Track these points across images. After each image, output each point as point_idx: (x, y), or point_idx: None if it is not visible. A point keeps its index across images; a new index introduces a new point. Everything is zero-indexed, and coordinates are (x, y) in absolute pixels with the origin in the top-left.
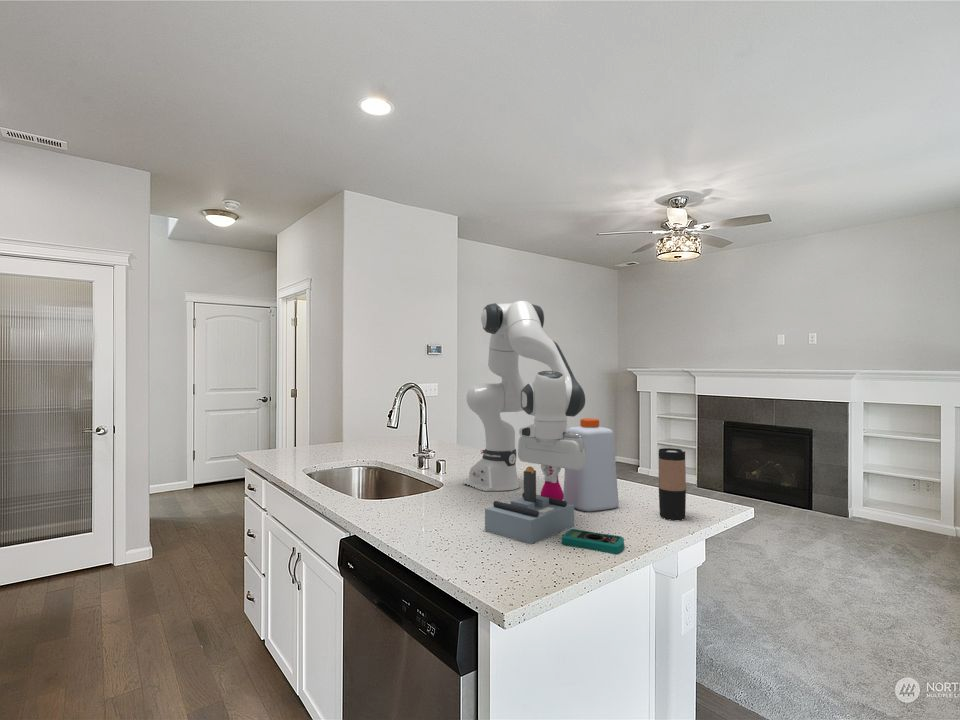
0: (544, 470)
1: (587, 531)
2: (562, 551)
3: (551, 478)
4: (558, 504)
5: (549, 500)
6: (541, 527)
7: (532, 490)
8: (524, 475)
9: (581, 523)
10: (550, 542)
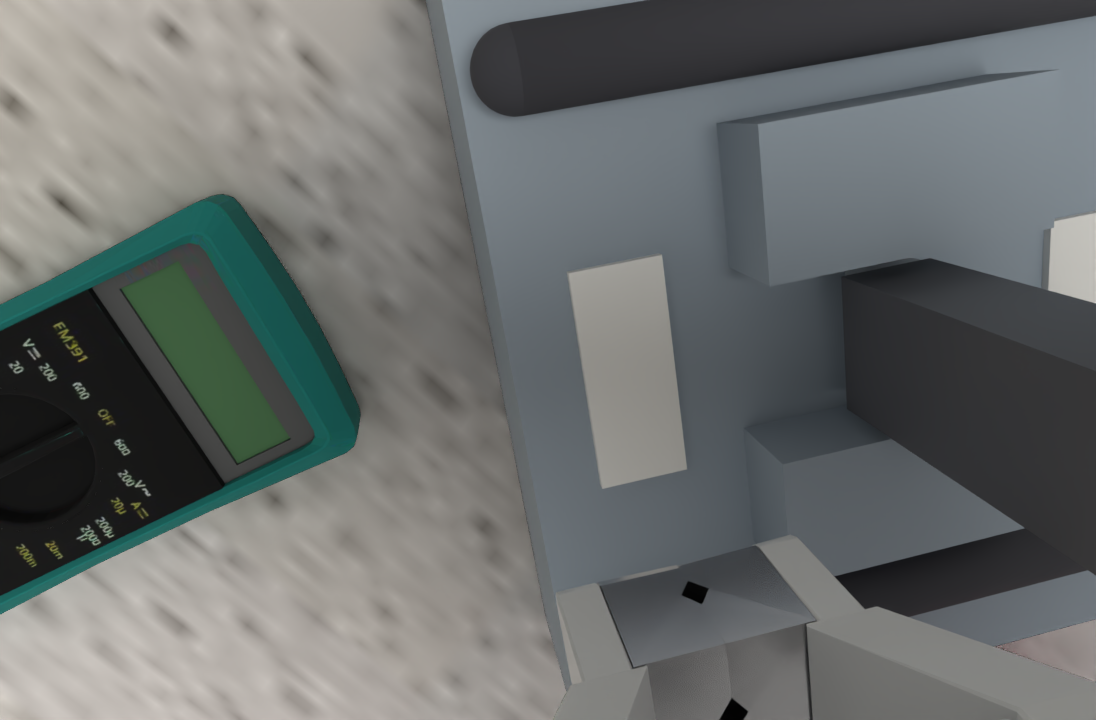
0: (950, 700)
1: (181, 511)
2: (68, 57)
3: (623, 628)
4: None
5: None
6: (457, 132)
7: (957, 396)
8: None
9: (554, 700)
10: (344, 149)
